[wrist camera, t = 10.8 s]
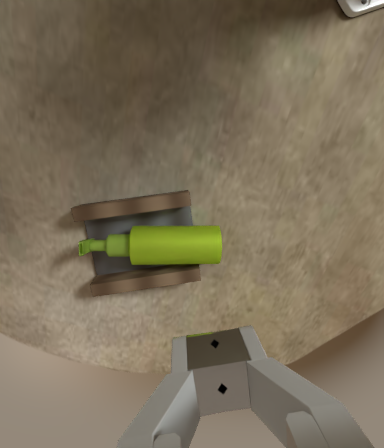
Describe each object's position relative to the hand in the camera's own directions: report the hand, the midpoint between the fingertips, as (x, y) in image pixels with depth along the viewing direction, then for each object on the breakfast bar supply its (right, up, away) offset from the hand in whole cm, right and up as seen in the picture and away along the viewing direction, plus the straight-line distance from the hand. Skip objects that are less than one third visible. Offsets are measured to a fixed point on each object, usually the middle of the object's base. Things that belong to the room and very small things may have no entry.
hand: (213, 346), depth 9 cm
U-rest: (-9, +2, +30) cm, 32 cm away
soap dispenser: (+3, +1, +27) cm, 28 cm away
